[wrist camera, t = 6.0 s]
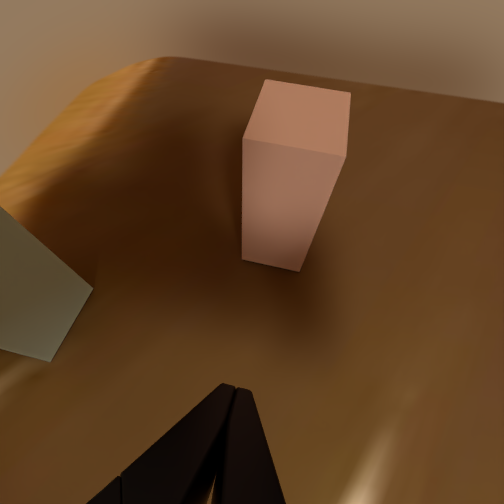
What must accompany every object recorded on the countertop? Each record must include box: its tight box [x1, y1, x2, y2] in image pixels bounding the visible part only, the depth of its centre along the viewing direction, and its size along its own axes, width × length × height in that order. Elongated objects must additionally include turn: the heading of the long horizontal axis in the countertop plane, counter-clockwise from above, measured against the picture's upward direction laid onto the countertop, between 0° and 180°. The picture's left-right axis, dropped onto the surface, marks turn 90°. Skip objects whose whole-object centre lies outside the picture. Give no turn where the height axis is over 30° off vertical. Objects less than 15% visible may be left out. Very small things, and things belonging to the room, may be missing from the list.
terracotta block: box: [242, 80, 351, 272], centre depth 16 cm, size 4×4×10 cm
